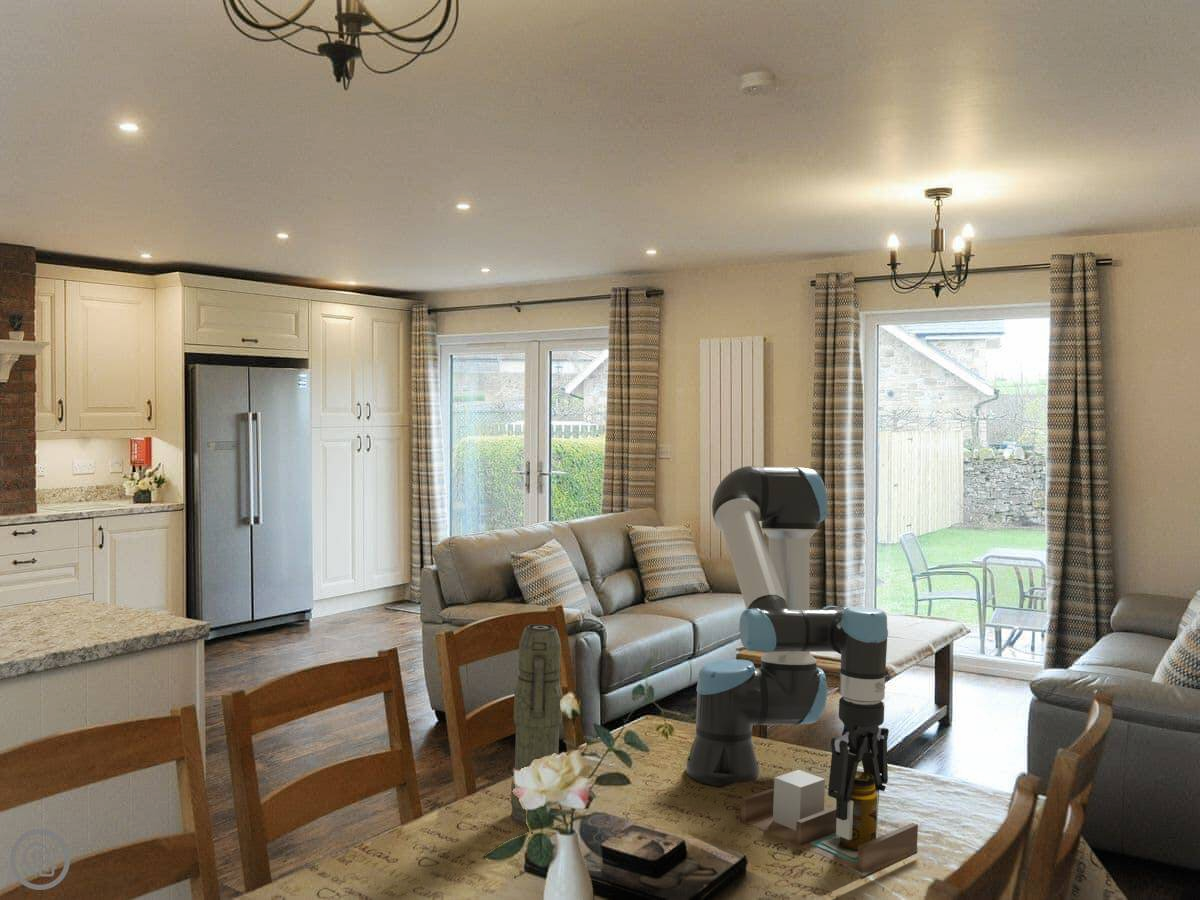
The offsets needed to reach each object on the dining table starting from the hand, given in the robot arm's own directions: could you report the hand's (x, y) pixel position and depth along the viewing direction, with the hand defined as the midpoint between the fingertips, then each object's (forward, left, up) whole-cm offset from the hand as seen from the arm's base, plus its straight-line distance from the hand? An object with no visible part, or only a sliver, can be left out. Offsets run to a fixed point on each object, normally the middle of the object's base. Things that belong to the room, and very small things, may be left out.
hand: (856, 831), depth 166 cm
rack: (-6, 0, -4) cm, 7 cm away
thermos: (-44, -36, -4) cm, 57 cm away
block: (-12, 0, -3) cm, 13 cm away
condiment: (0, -1, -2) cm, 3 cm away
